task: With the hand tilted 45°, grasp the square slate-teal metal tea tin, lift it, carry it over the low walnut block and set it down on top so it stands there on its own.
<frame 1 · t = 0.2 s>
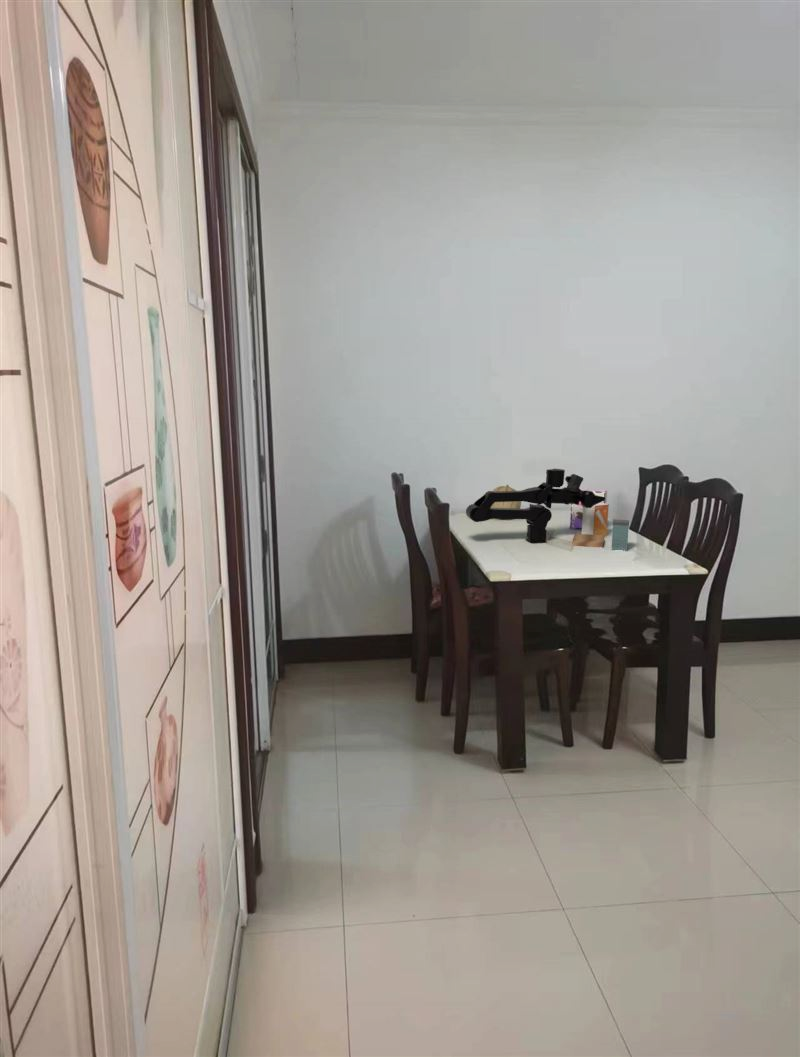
hand: (599, 497, 307), 17 cm above the table, tool horizontal, fingers open, 9 cm apart
tea tin: (619, 549, 293), on the table
cantaloupe: (503, 519, 353), on the table
small box: (594, 536, 317), on the table
candy box: (587, 529, 331), on the table
walnut block: (588, 544, 302), on the table
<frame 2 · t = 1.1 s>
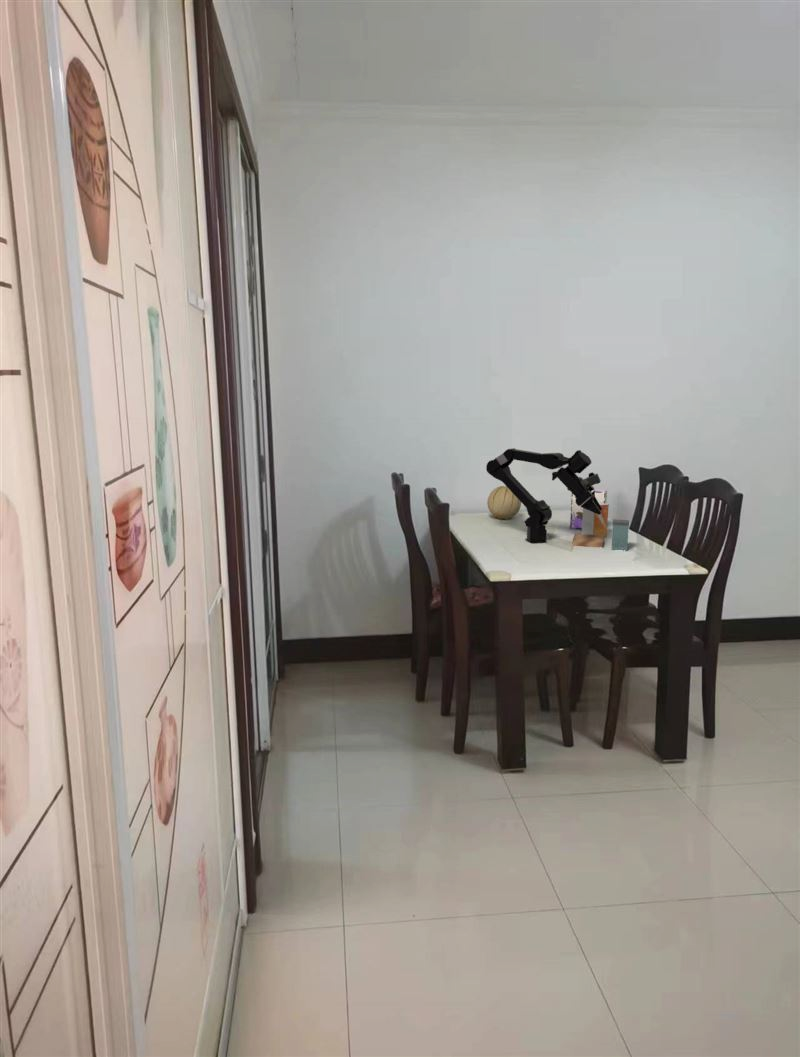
hand: (600, 511, 293), 14 cm above the table, tool tilted 45°, fingers open, 9 cm apart
nothing on the table moved.
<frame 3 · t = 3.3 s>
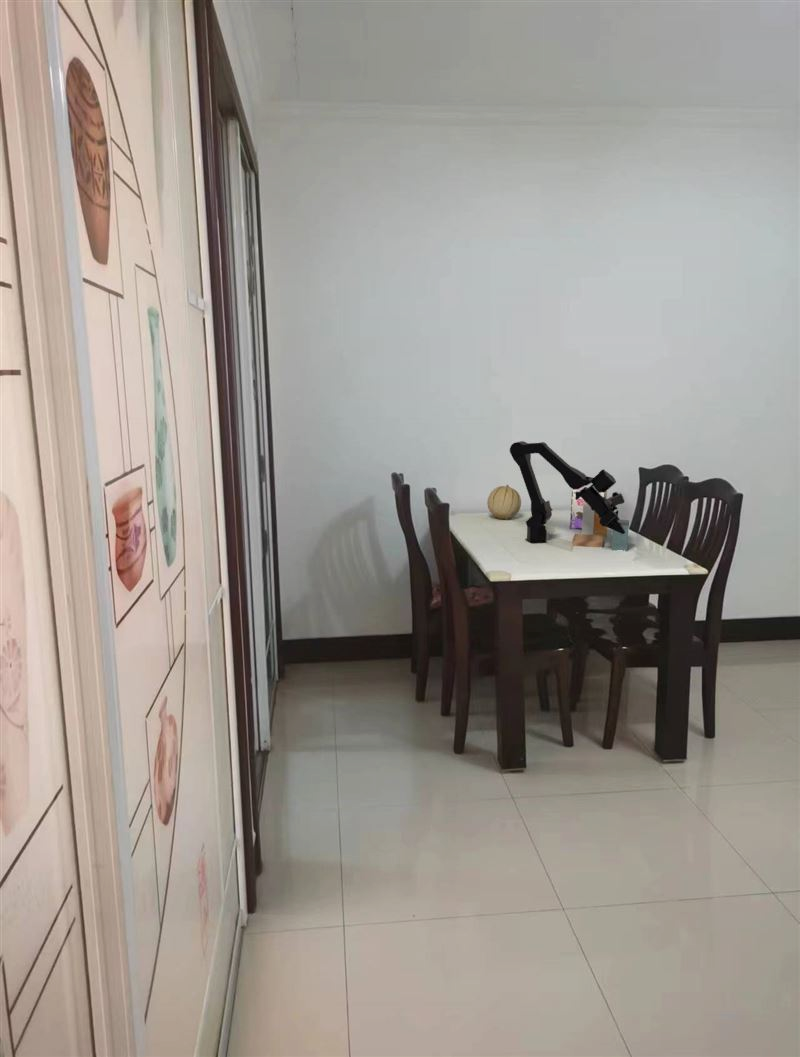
hand: (624, 531, 291), 7 cm above the table, tool tilted 45°, fingers closed on tea tin, 5 cm apart
tea tin: (619, 549, 293), on the table, touching gripper
everything else where it was.
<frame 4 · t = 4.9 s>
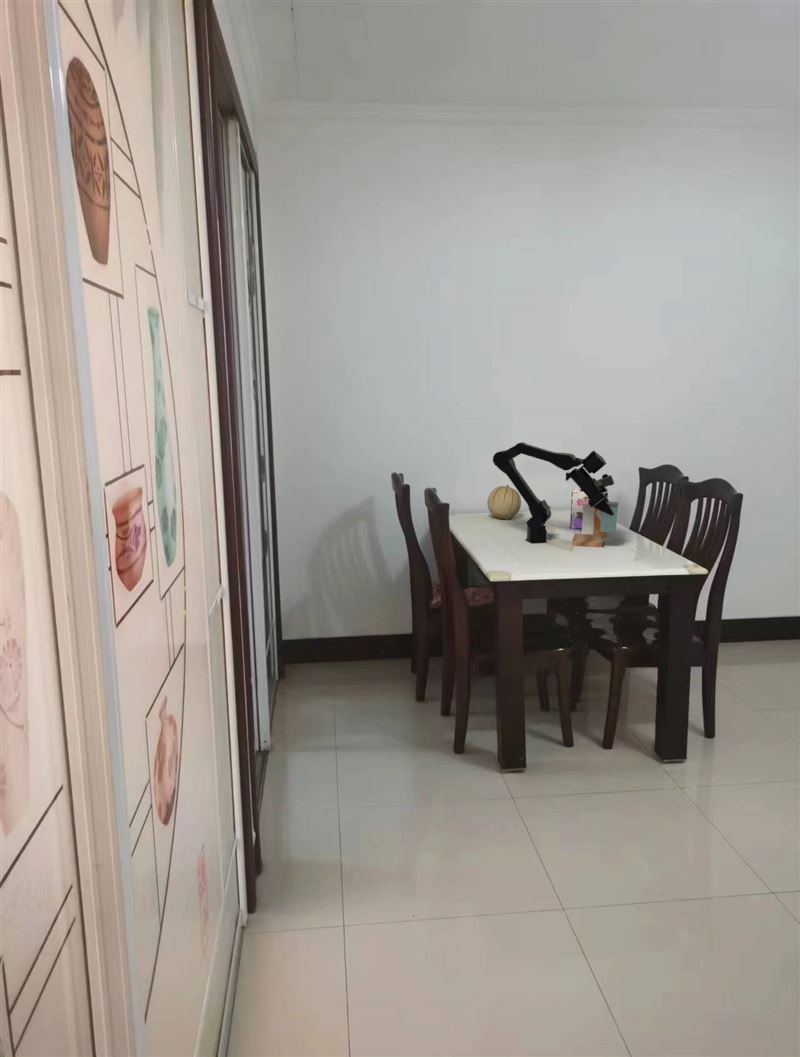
hand: (613, 513, 293), 13 cm above the table, tool tilted 45°, fingers closed on tea tin, 5 cm apart
tea tin: (607, 530, 295), point 6 cm above the table, touching gripper
everything else where it was.
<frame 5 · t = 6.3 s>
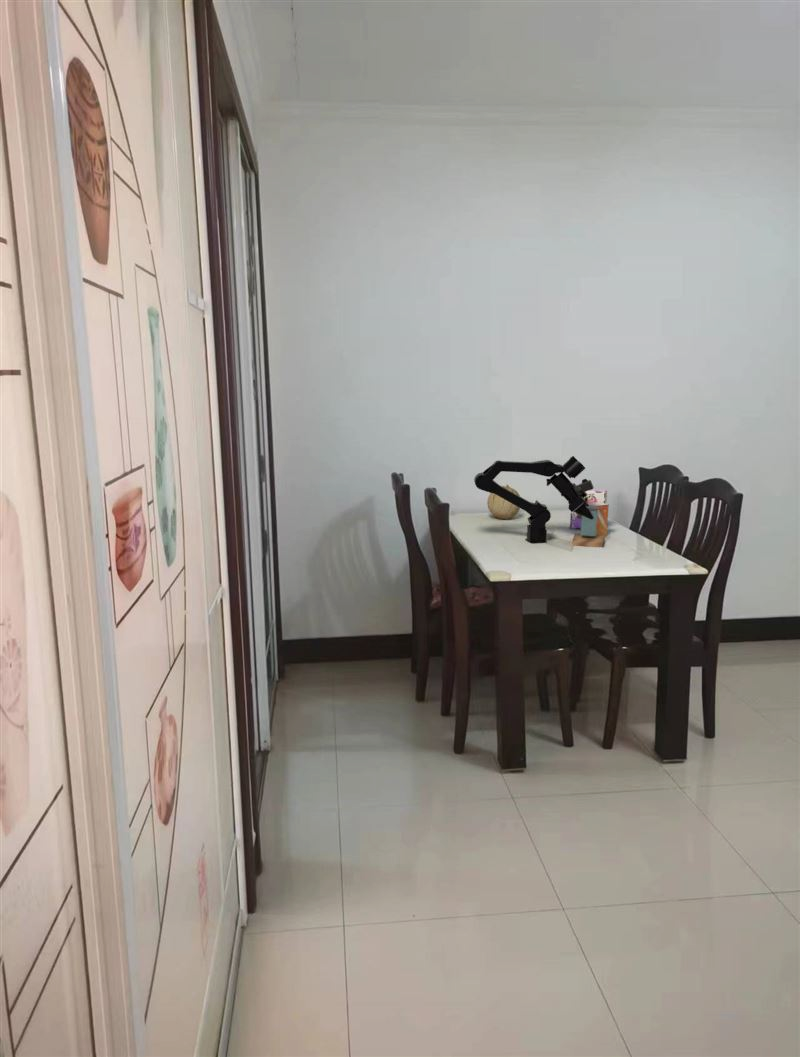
hand: (593, 517, 300), 10 cm above the table, tool tilted 45°, fingers closed on tea tin, 5 cm apart
tea tin: (588, 534, 301), point 4 cm above the table, touching gripper
everything else where it was.
when the fingers open (10 cm above the table, at t = 6.5 s): tea tin drops 1 cm, resting on walnut block.
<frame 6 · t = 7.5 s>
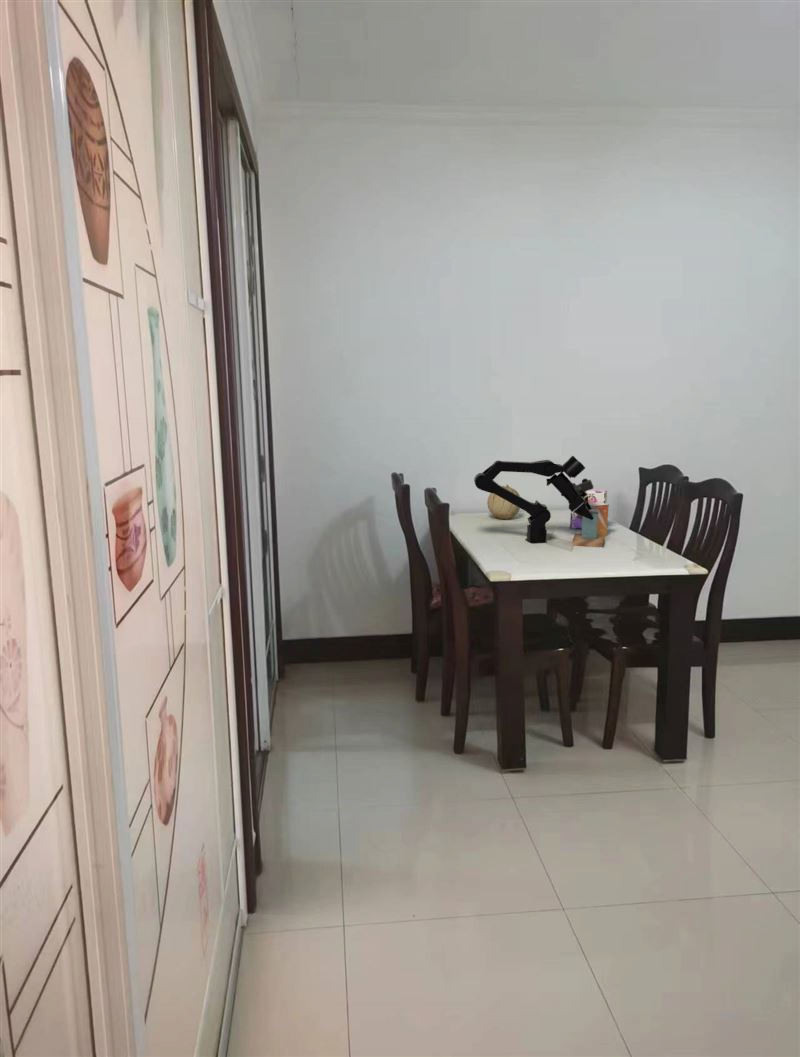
hand: (593, 517, 300), 10 cm above the table, tool tilted 45°, fingers open, 9 cm apart
tea tin: (588, 537, 301), point 2 cm above the table, touching walnut block
walnut block: (588, 545, 302), on the table, touching tea tin
everything else where it was.
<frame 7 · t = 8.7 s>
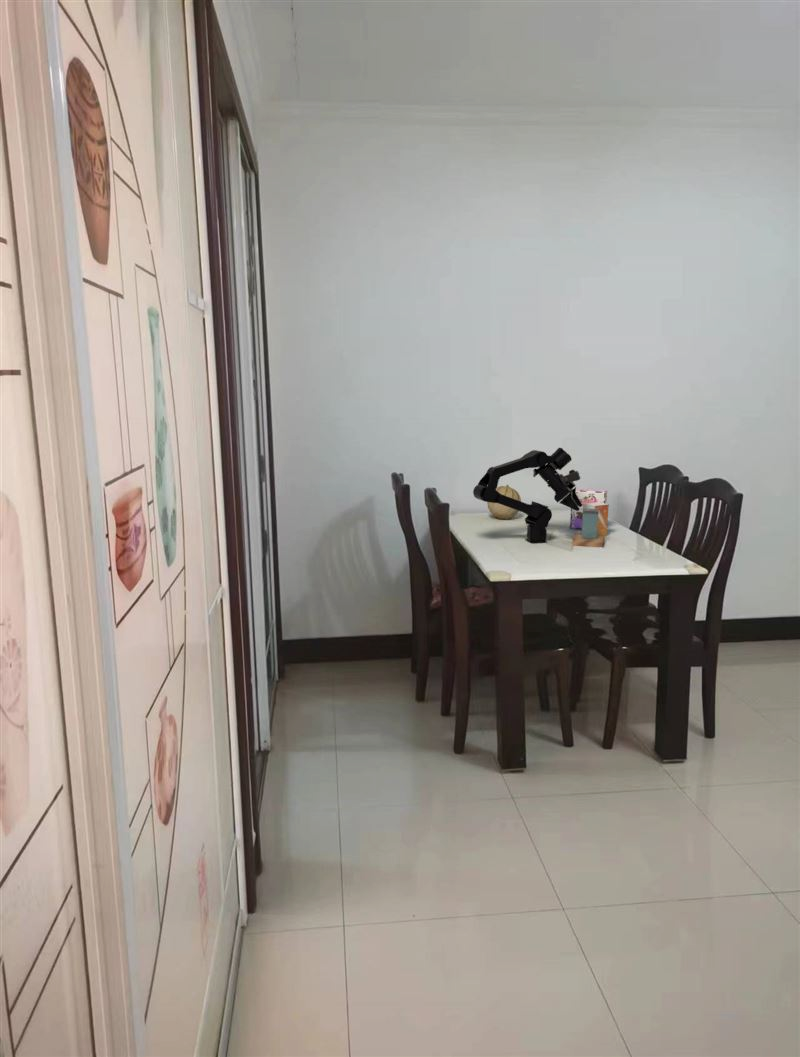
hand: (580, 508, 300), 14 cm above the table, tool tilted 45°, fingers open, 9 cm apart
nothing on the table moved.
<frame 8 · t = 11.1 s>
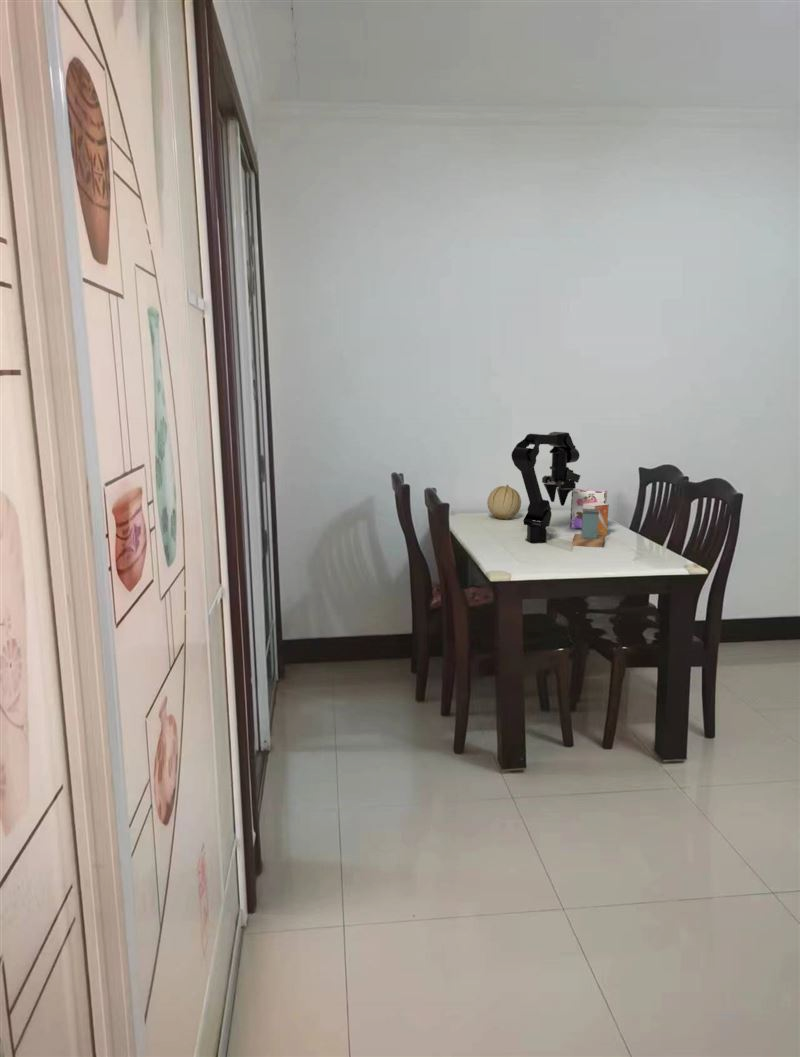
hand: (557, 503, 313), 13 cm above the table, tool pointing down, fingers open, 9 cm apart
tea tin: (588, 537, 301), point 2 cm above the table
walnut block: (588, 545, 302), on the table
everything else where it was.
at the end: tea tin inside the target area on the walnut block (0.2 cm from its centre), point 3.0 cm above the walnut block's base; tea tin tilted 0°; the gripper is holding nothing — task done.
